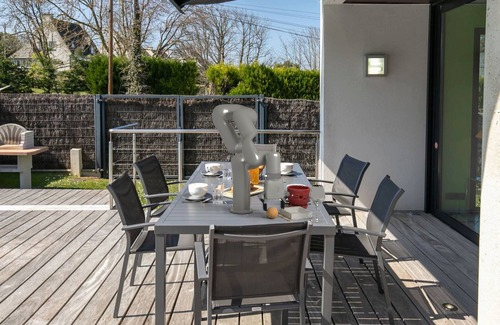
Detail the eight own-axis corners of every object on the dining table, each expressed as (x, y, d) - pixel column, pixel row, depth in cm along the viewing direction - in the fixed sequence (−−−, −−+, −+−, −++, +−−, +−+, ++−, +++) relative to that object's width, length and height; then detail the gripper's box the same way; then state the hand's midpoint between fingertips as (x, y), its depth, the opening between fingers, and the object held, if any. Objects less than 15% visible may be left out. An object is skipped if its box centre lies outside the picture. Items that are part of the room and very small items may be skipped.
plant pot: (284, 209, 271) (285, 188, 269) (288, 204, 283) (288, 184, 282) (308, 211, 268) (308, 189, 266) (311, 206, 280) (311, 185, 279)
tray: (279, 213, 261) (279, 208, 261) (299, 211, 266) (299, 206, 265) (291, 219, 248) (291, 213, 248) (312, 217, 253) (312, 212, 252)
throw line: (273, 213, 262) (273, 212, 262) (275, 213, 262) (275, 212, 262) (290, 222, 244) (290, 221, 244) (293, 221, 244) (293, 221, 244)
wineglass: (323, 219, 250) (323, 184, 248) (326, 223, 242) (327, 187, 240) (307, 219, 250) (307, 184, 248) (309, 223, 242) (310, 187, 239)
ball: (264, 217, 252) (264, 206, 252) (275, 216, 255) (275, 205, 254) (269, 220, 247) (269, 208, 246) (280, 219, 249) (280, 207, 248)
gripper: (260, 178, 241) (261, 212, 243) (292, 176, 247) (292, 209, 249) (254, 176, 248) (255, 210, 250) (285, 174, 254) (285, 207, 256)
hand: (273, 209), depth 249 cm, fingers open, 9 cm apart
